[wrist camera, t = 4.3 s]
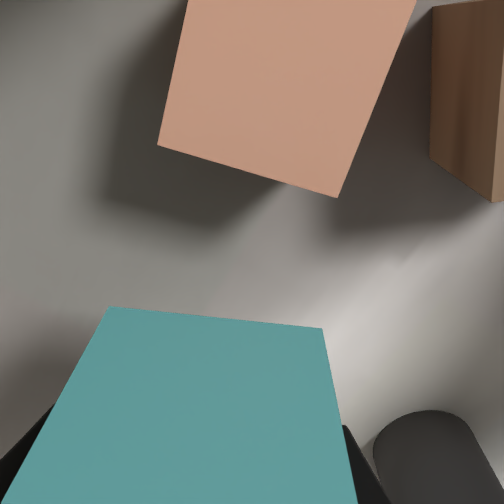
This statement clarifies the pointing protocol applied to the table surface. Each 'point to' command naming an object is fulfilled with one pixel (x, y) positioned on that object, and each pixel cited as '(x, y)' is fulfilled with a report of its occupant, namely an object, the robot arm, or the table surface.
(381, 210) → the table surface
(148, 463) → the teal cube
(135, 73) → the table surface
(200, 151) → the terracotta cube
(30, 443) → the robot arm
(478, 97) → the walnut cube
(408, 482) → the dark grey cylinder
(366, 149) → the table surface
